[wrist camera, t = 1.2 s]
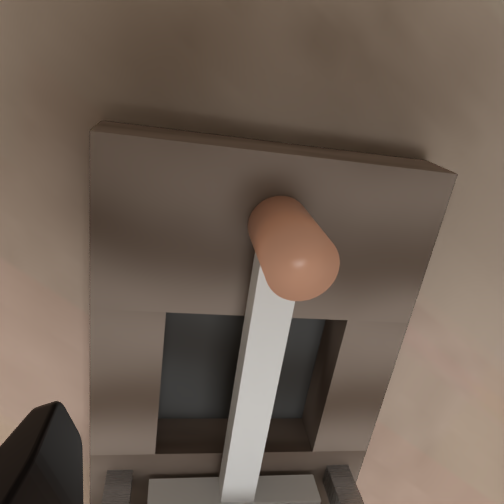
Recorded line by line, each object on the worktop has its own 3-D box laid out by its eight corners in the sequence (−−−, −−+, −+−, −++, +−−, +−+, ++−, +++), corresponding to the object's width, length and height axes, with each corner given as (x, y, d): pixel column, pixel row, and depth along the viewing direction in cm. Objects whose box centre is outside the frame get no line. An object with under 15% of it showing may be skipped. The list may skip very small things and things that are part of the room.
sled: (170, 184, 16) (167, 220, 12) (386, 206, 17) (435, 242, 14) (141, 585, 25) (135, 668, 21) (285, 574, 26) (300, 650, 23)
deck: (101, 120, 17) (89, 130, 15) (426, 160, 20) (458, 174, 18) (96, 659, 32) (90, 705, 30) (283, 640, 35) (290, 681, 32)
